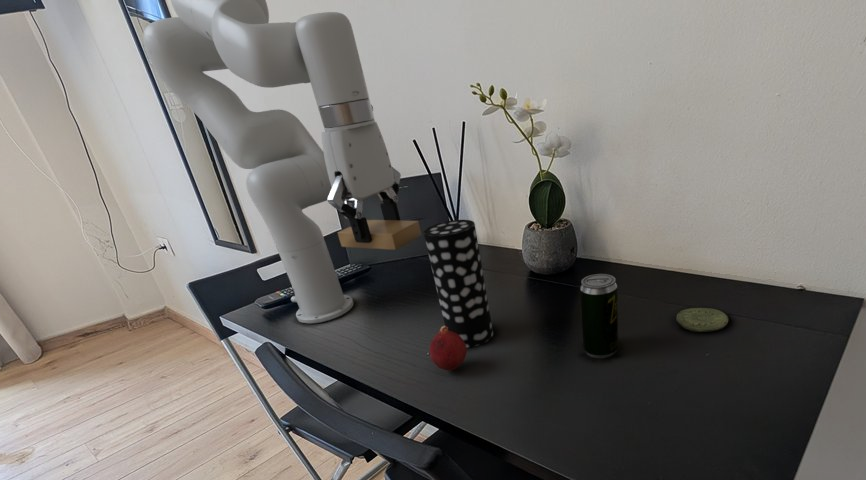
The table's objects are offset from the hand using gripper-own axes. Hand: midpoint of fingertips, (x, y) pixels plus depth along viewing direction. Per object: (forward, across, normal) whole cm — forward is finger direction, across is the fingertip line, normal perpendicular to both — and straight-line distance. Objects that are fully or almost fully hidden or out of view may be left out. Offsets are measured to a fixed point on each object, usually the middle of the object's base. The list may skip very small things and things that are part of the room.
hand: (379, 233), depth 79 cm
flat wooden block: (+1, 0, 0) cm, 1 cm away
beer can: (+20, -4, +37) cm, 42 cm away
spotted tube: (+20, -3, +13) cm, 24 cm away
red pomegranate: (+20, +8, +16) cm, 27 cm away
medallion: (+19, -17, +50) cm, 56 cm away
